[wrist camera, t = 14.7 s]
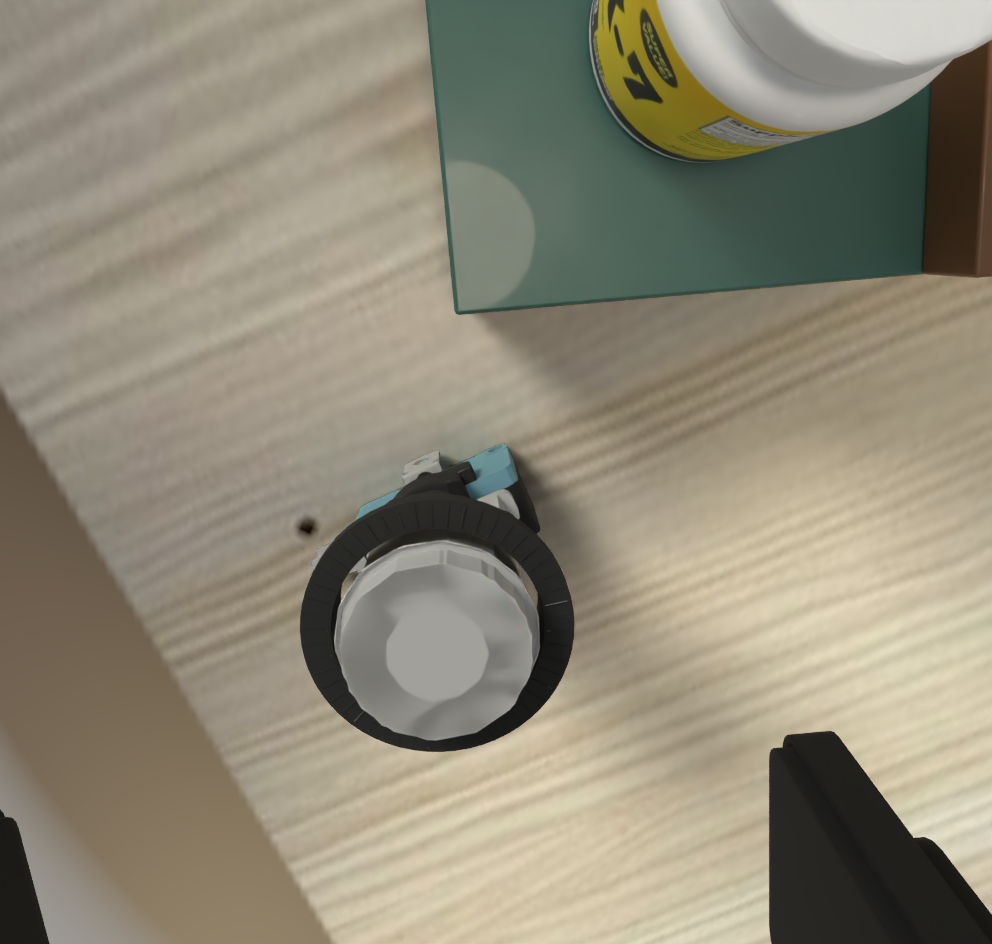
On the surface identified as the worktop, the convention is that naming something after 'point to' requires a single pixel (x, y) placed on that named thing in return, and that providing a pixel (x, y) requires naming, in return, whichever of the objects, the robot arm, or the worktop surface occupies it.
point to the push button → (439, 609)
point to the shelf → (682, 179)
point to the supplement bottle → (768, 66)
